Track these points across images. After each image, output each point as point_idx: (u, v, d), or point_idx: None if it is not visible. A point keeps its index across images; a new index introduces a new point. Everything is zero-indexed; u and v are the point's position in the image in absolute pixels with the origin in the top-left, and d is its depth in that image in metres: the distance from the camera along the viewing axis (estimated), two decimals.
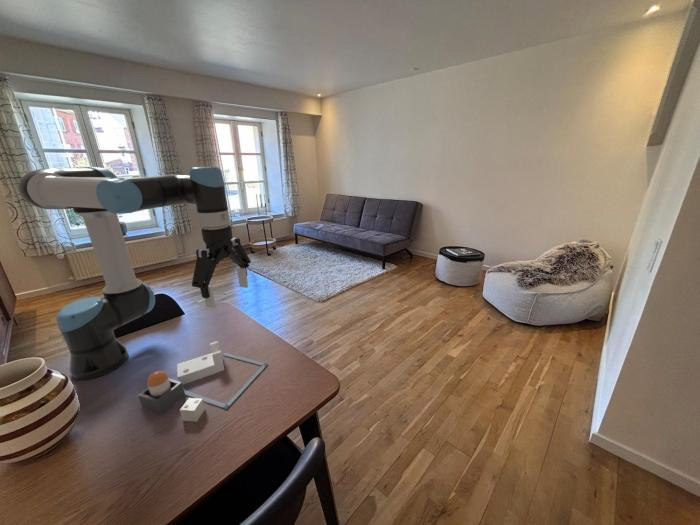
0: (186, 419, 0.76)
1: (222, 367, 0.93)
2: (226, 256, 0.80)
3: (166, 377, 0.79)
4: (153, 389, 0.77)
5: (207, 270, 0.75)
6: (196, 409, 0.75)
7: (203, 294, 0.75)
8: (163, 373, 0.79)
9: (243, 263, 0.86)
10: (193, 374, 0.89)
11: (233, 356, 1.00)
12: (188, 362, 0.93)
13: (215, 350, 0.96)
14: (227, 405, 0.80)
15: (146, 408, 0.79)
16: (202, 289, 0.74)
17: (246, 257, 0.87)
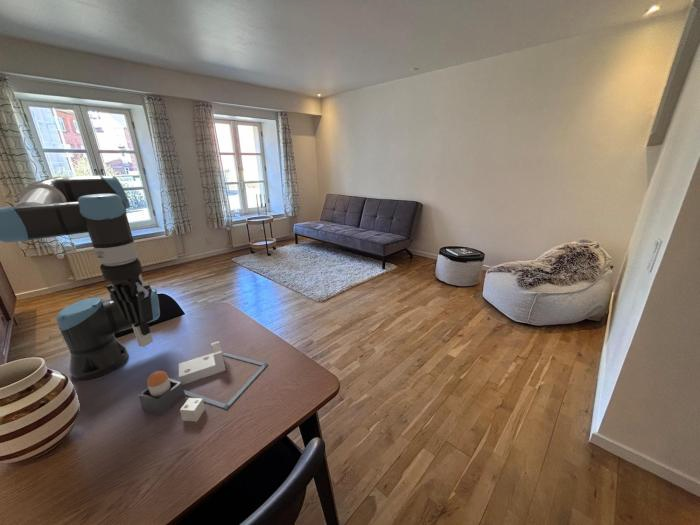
0: (186, 419, 0.76)
1: (223, 367, 0.93)
2: None
3: (166, 377, 0.79)
4: (153, 389, 0.77)
5: None
6: (196, 408, 0.75)
7: None
8: (163, 373, 0.79)
9: (136, 319, 0.70)
10: (194, 374, 0.89)
11: (233, 356, 1.00)
12: (190, 361, 0.93)
13: (216, 350, 0.96)
14: (227, 405, 0.80)
15: (146, 408, 0.79)
16: None
17: (141, 316, 0.69)
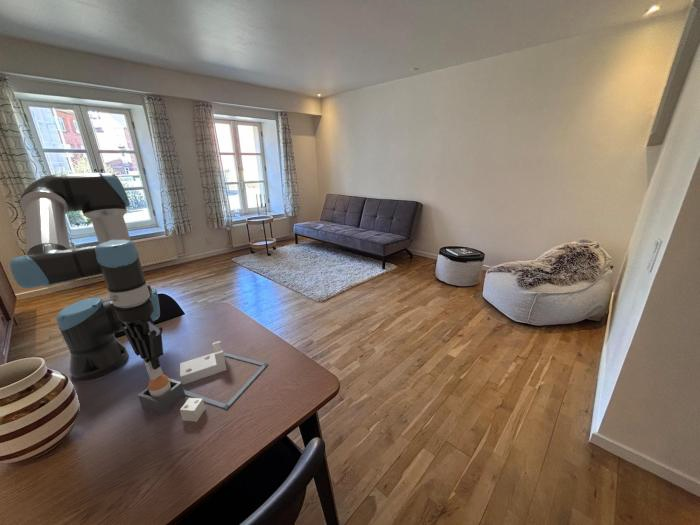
0: (186, 419, 0.76)
1: (224, 367, 0.93)
2: None
3: (167, 381, 0.80)
4: (154, 393, 0.78)
5: None
6: (196, 408, 0.75)
7: None
8: (164, 377, 0.80)
9: (147, 355, 0.74)
10: (196, 374, 0.89)
11: (233, 356, 1.00)
12: (191, 361, 0.93)
13: (218, 350, 0.96)
14: (227, 405, 0.80)
15: (146, 408, 0.79)
16: None
17: (152, 352, 0.73)
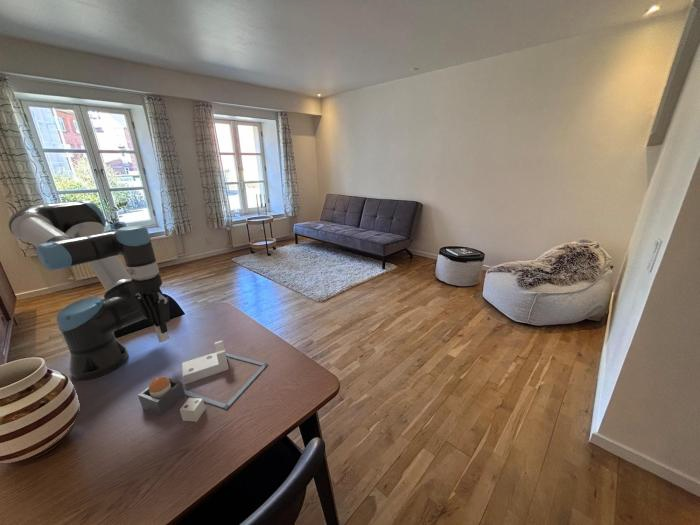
0: (186, 419, 0.76)
1: (226, 366, 0.94)
2: None
3: (168, 383, 0.80)
4: (155, 395, 0.78)
5: None
6: (196, 408, 0.75)
7: None
8: (165, 379, 0.80)
9: (157, 320, 0.91)
10: (198, 373, 0.89)
11: (233, 356, 1.00)
12: (193, 361, 0.94)
13: (220, 349, 0.96)
14: (227, 405, 0.80)
15: (146, 408, 0.79)
16: None
17: (161, 318, 0.90)
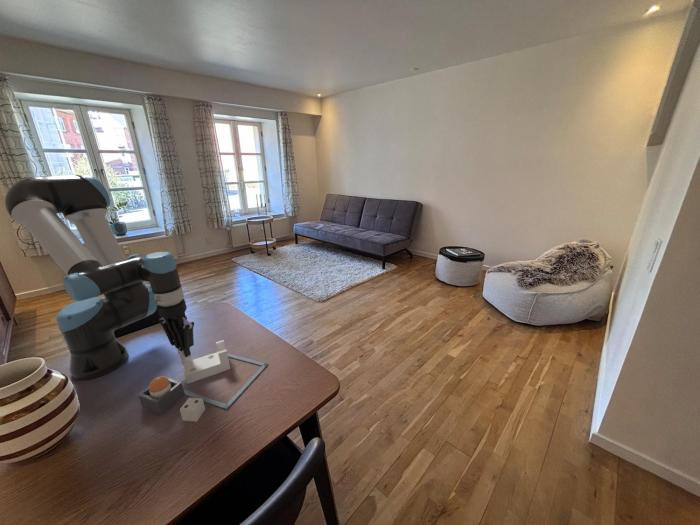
0: (186, 419, 0.76)
1: (228, 366, 0.94)
2: None
3: (168, 383, 0.80)
4: (155, 395, 0.78)
5: None
6: (196, 408, 0.75)
7: None
8: (165, 379, 0.80)
9: (181, 345, 0.91)
10: (200, 373, 0.90)
11: (233, 356, 1.00)
12: (195, 360, 0.94)
13: (221, 349, 0.96)
14: (227, 405, 0.80)
15: (146, 408, 0.79)
16: None
17: (185, 343, 0.90)
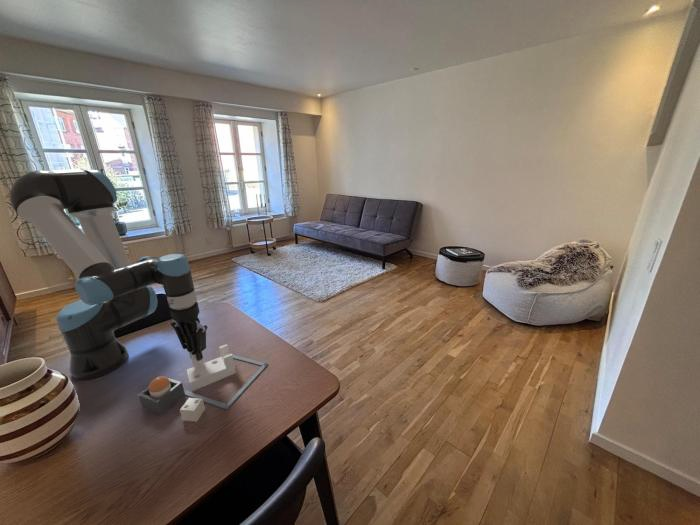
0: (186, 419, 0.76)
1: (234, 370, 0.92)
2: None
3: (168, 383, 0.80)
4: (155, 395, 0.78)
5: None
6: (196, 408, 0.75)
7: None
8: (165, 379, 0.80)
9: (193, 348, 0.89)
10: (205, 379, 0.87)
11: (233, 356, 1.00)
12: (198, 367, 0.91)
13: (225, 353, 0.94)
14: (227, 405, 0.80)
15: (146, 408, 0.79)
16: None
17: (198, 346, 0.88)
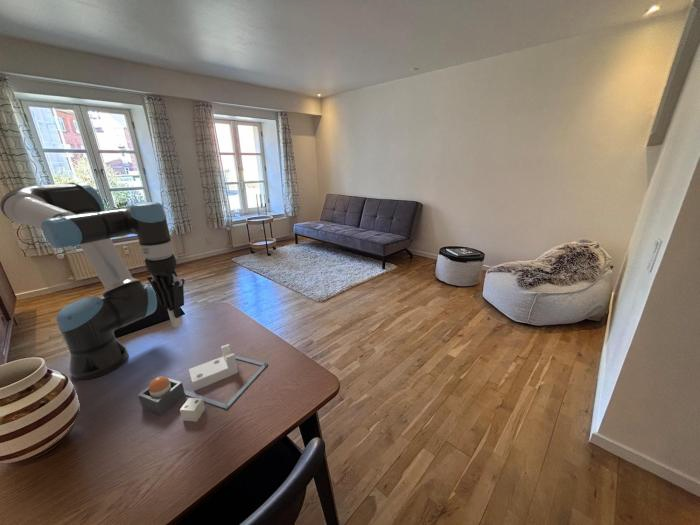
0: (186, 419, 0.76)
1: (236, 370, 0.92)
2: None
3: (168, 383, 0.80)
4: (155, 395, 0.78)
5: None
6: (196, 408, 0.75)
7: None
8: (165, 379, 0.80)
9: (170, 304, 0.86)
10: (207, 379, 0.87)
11: None
12: (200, 366, 0.91)
13: (227, 353, 0.94)
14: (227, 405, 0.80)
15: (146, 408, 0.79)
16: None
17: (175, 301, 0.85)
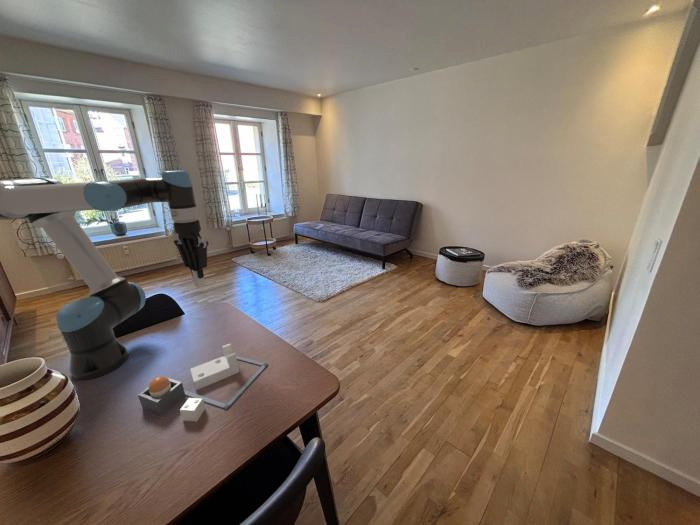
0: (186, 419, 0.76)
1: (237, 369, 0.92)
2: None
3: (168, 383, 0.80)
4: (155, 395, 0.78)
5: None
6: (196, 408, 0.75)
7: None
8: (165, 379, 0.80)
9: (195, 265, 0.95)
10: (209, 378, 0.87)
11: None
12: (201, 366, 0.91)
13: (228, 353, 0.94)
14: (227, 405, 0.80)
15: (146, 408, 0.79)
16: None
17: (199, 262, 0.94)
